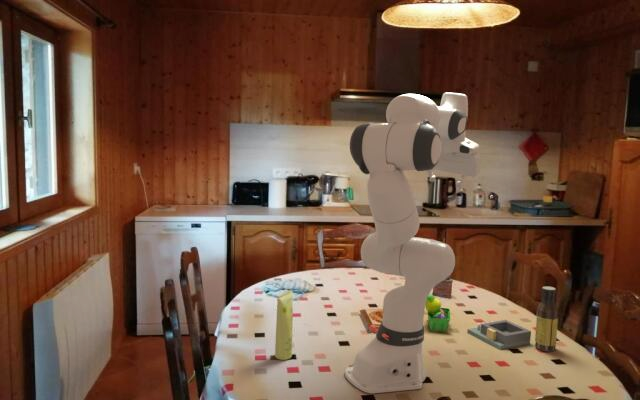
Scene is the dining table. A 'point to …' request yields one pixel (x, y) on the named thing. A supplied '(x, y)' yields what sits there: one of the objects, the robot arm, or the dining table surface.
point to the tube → (284, 327)
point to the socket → (495, 333)
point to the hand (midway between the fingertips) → (445, 184)
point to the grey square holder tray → (495, 343)
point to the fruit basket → (437, 314)
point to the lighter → (443, 288)
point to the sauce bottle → (546, 321)
